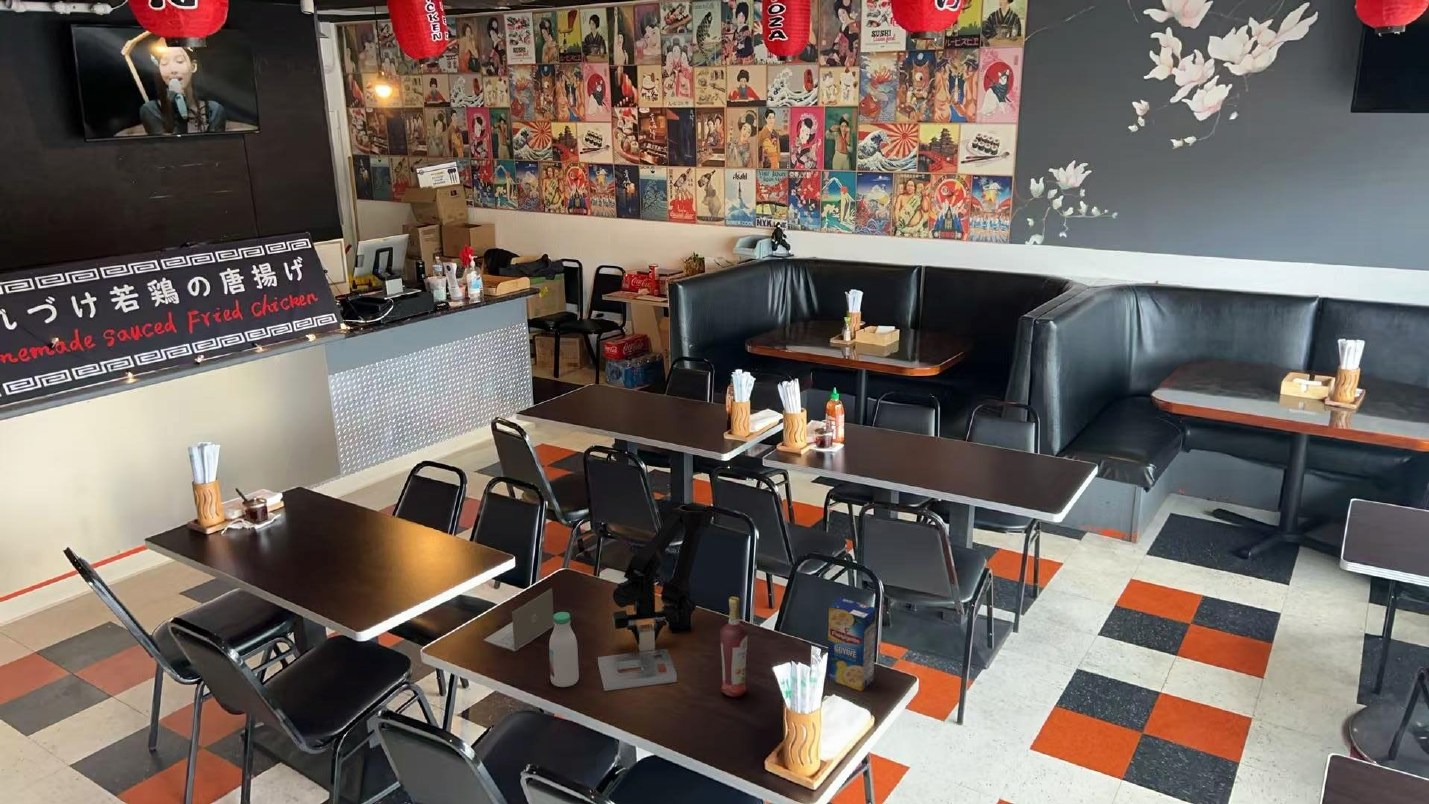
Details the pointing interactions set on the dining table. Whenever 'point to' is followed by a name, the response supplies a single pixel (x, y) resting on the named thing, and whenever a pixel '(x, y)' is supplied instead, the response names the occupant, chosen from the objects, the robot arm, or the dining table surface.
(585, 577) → the dining table surface
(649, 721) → the dining table surface
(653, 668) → the switch plate
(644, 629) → the plug
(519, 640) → the laptop
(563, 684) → the milk bottle
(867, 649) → the beverage box
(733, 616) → the liquor
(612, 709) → the dining table surface
